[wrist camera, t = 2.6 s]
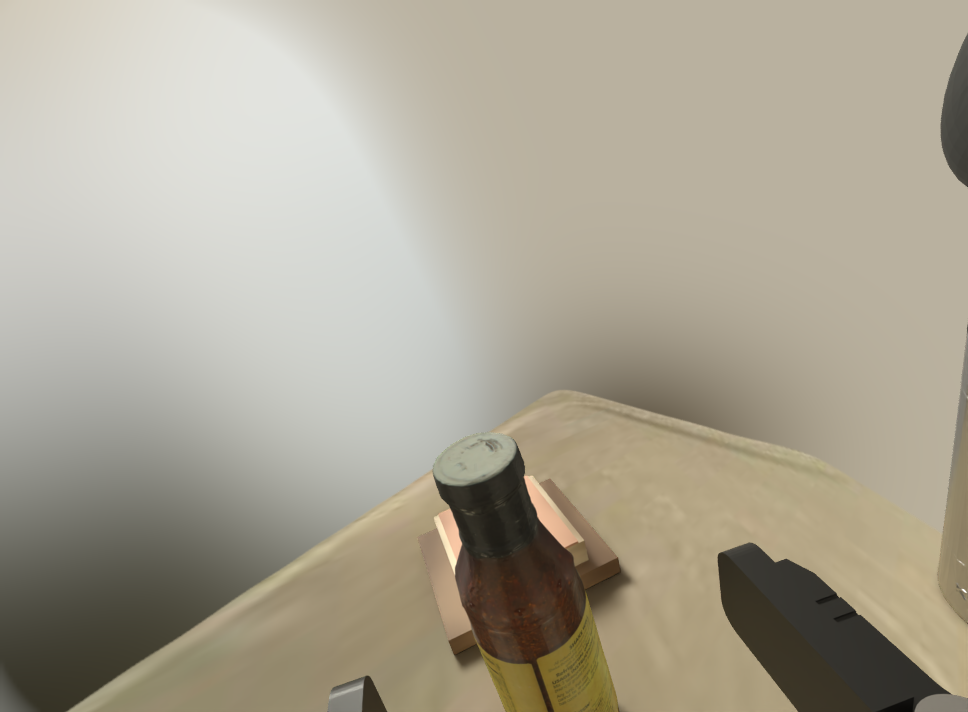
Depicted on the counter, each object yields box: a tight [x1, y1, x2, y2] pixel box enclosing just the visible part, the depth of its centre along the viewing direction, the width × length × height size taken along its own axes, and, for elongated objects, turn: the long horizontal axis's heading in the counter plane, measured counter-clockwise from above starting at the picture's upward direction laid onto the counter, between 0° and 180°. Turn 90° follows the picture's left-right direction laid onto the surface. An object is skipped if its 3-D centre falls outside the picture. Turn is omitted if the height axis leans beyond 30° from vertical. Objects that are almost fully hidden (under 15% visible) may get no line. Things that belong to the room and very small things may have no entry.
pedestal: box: [417, 475, 621, 655], centre depth 41 cm, size 14×12×4 cm
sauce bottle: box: [433, 432, 619, 712], centre depth 25 cm, size 7×6×20 cm
